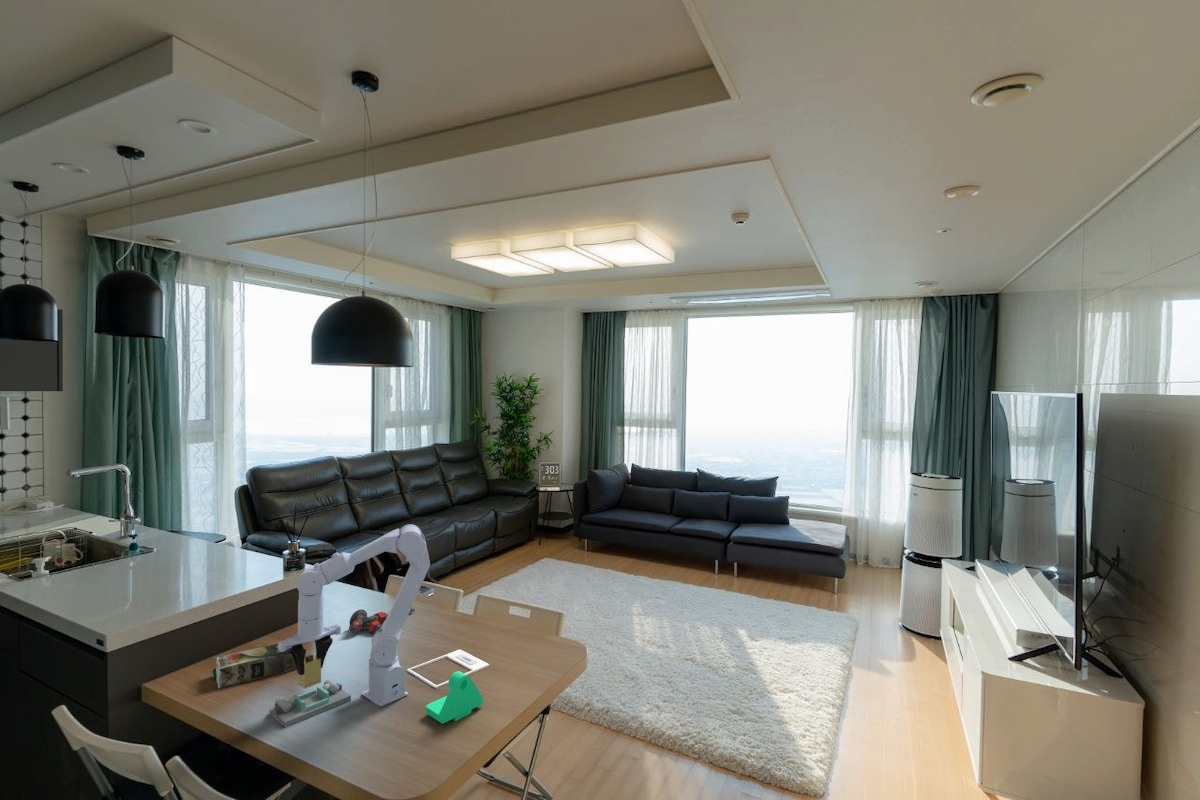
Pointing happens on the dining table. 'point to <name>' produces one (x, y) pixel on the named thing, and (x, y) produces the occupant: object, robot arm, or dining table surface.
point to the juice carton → (252, 665)
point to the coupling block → (310, 672)
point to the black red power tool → (367, 621)
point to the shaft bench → (309, 703)
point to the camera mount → (456, 699)
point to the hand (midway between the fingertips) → (310, 670)
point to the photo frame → (458, 657)
